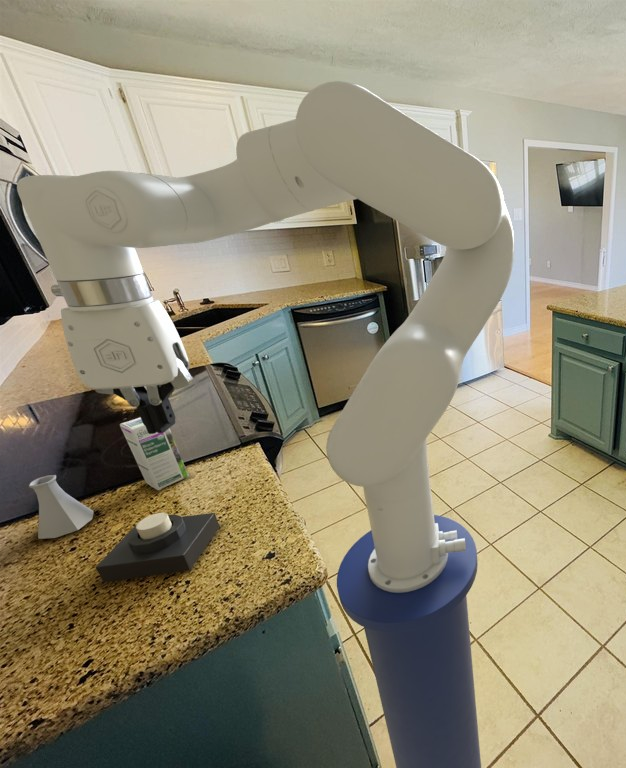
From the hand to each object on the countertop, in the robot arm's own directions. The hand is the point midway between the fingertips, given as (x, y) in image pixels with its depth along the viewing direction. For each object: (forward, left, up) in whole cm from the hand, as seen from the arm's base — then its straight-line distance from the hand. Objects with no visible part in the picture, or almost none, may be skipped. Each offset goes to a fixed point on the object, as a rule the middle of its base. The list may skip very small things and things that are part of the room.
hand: (162, 428), depth 55 cm
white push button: (+10, -5, -20) cm, 23 cm away
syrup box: (+22, -28, -25) cm, 44 cm away
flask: (+32, -16, -25) cm, 44 cm away
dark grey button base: (+10, -5, -25) cm, 27 cm away
